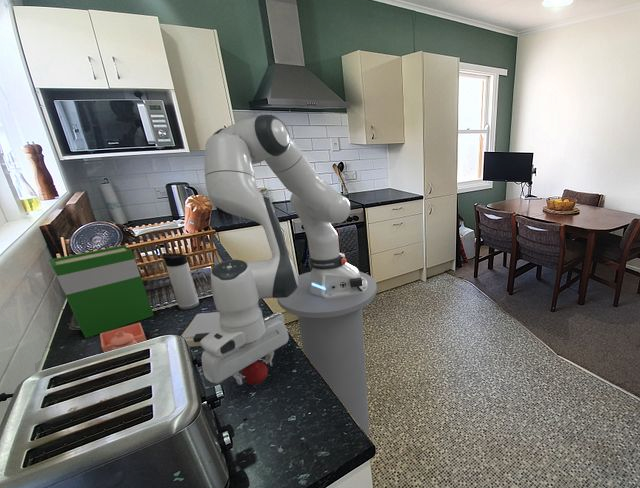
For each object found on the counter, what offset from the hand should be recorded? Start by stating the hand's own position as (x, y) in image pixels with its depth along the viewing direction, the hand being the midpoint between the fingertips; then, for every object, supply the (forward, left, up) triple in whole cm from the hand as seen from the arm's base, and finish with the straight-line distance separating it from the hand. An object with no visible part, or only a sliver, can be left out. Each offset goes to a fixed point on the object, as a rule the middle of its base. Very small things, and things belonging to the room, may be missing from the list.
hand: (255, 374), depth 87 cm
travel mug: (+33, -49, -5) cm, 59 cm away
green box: (+51, -41, -5) cm, 66 cm away
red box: (+39, -22, -5) cm, 45 cm away
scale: (+18, -30, -4) cm, 35 cm away
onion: (0, 0, -3) cm, 3 cm away
